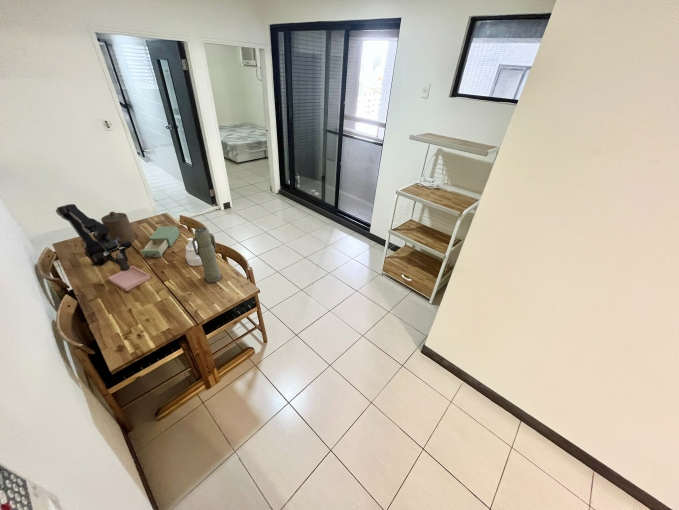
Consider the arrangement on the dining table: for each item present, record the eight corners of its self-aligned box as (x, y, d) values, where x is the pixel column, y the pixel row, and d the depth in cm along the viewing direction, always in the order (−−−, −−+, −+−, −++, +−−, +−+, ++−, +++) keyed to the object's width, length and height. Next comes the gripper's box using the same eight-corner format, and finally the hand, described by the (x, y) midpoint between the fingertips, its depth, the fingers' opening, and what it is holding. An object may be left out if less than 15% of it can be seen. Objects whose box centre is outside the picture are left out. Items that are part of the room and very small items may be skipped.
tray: (109, 280, 163) (107, 277, 162) (134, 268, 174) (132, 265, 172) (126, 291, 157) (125, 287, 155) (150, 277, 167) (149, 274, 166)
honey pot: (203, 266, 180) (197, 243, 170) (183, 265, 179) (176, 242, 169) (211, 255, 190) (205, 233, 180) (192, 254, 190) (186, 232, 180)
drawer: (158, 260, 181) (156, 253, 178) (140, 260, 179) (137, 254, 176) (170, 243, 198) (168, 237, 195) (153, 244, 196) (151, 237, 193)
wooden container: (133, 232, 209) (122, 205, 197) (138, 240, 201) (126, 213, 188) (109, 238, 201) (96, 211, 188) (113, 247, 192) (99, 219, 180)
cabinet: (170, 246, 196) (167, 238, 192) (152, 246, 195) (148, 238, 191) (179, 234, 211) (177, 226, 207) (162, 234, 209) (159, 226, 205)
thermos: (226, 276, 172) (215, 228, 153) (208, 286, 164) (194, 236, 145) (218, 271, 177) (206, 223, 157) (200, 279, 169) (186, 230, 149)
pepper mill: (119, 268, 161) (112, 252, 155) (129, 265, 164) (122, 250, 157) (121, 272, 158) (113, 256, 152) (130, 269, 161) (123, 254, 154)
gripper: (86, 242, 143) (107, 266, 145) (123, 228, 157) (142, 250, 159) (85, 250, 150) (104, 272, 153) (121, 236, 164) (138, 256, 166)
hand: (123, 262), depth 157 cm, fingers closed on pepper mill, 4 cm apart
